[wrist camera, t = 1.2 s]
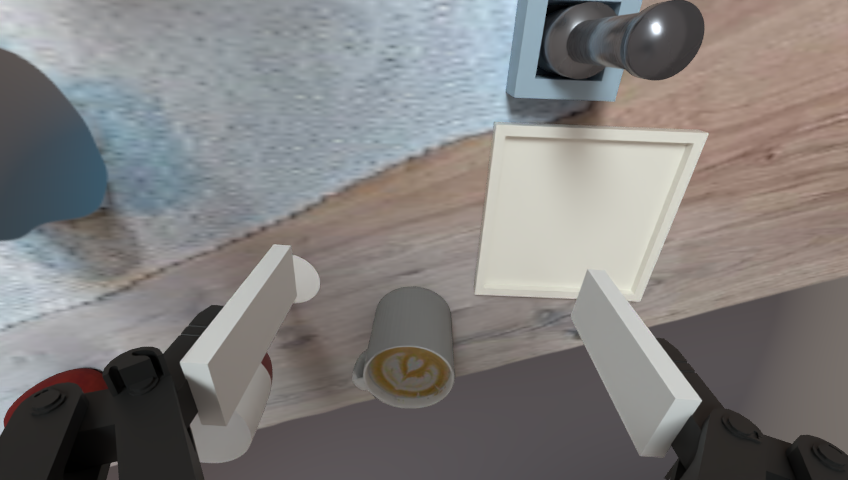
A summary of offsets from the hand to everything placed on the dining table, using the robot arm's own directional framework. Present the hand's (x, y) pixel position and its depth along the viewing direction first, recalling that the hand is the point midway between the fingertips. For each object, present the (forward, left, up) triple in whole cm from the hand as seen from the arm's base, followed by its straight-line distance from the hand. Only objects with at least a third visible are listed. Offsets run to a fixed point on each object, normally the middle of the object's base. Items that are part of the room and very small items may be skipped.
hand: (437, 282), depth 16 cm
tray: (+7, +16, -23) cm, 29 cm away
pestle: (-10, +11, -23) cm, 27 cm away
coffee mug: (+23, -3, -24) cm, 33 cm away
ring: (-10, +11, -23) cm, 27 cm away
